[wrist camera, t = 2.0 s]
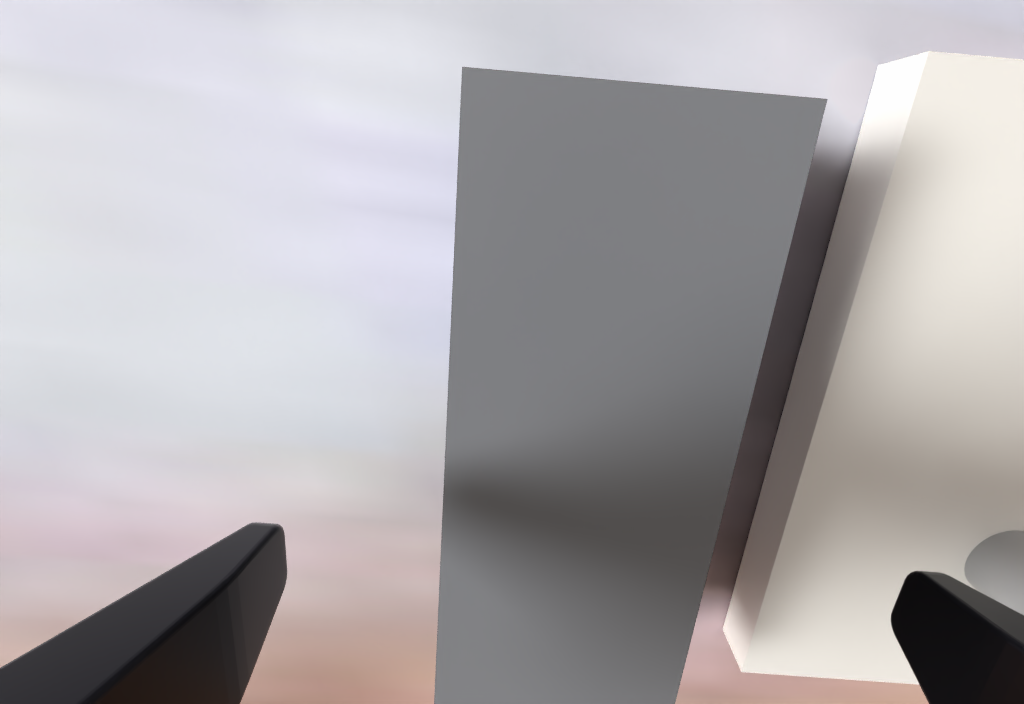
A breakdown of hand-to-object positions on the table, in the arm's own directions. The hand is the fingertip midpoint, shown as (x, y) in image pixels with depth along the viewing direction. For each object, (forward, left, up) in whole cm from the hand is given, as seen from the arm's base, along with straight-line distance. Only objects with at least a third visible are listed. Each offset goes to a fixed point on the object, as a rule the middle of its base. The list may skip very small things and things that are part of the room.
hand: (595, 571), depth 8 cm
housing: (0, 0, -7) cm, 7 cm away
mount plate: (0, -12, -7) cm, 14 cm away
